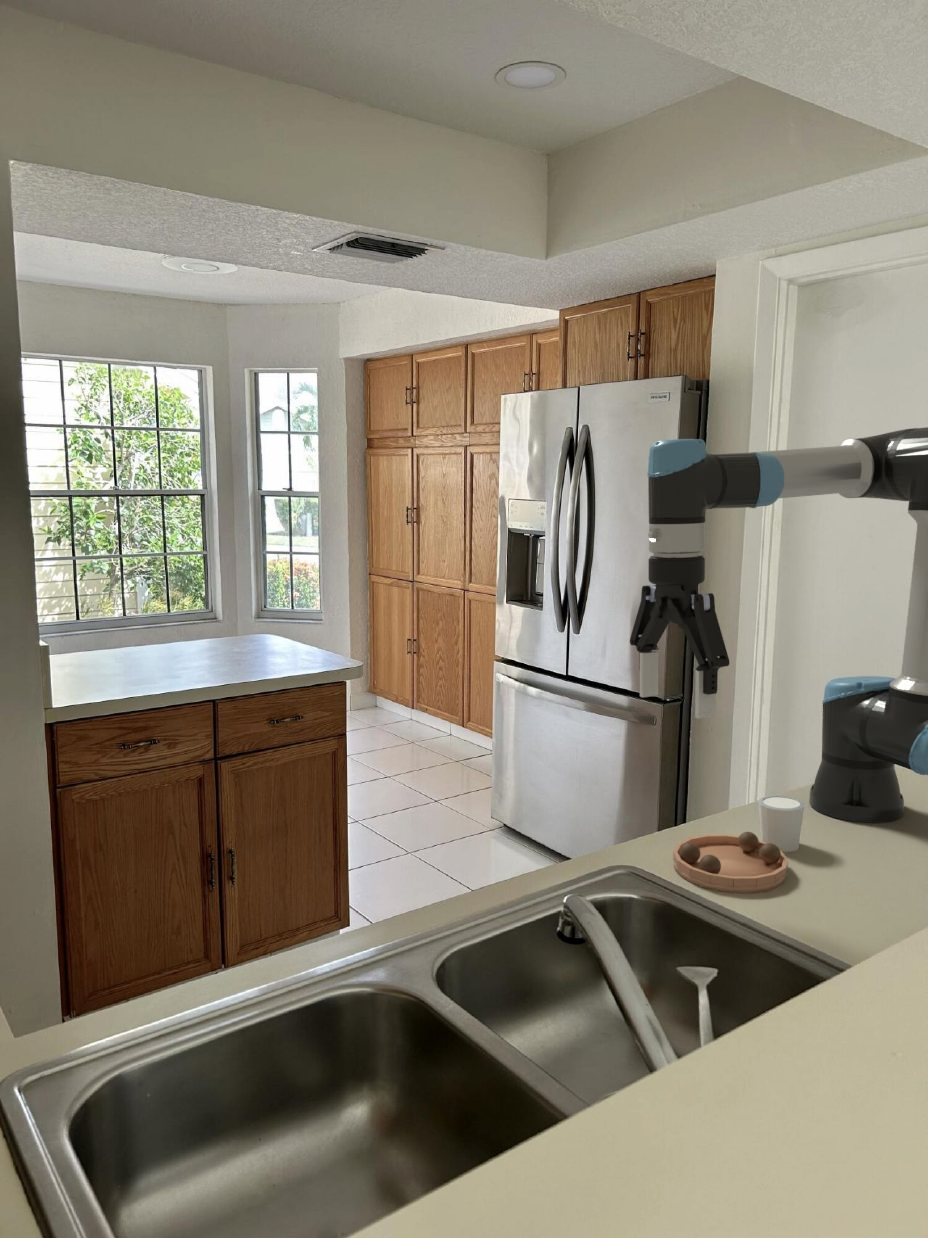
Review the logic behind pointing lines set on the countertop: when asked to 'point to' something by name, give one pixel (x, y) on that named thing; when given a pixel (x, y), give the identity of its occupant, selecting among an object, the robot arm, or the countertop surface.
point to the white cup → (781, 821)
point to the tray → (731, 866)
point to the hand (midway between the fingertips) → (675, 706)
